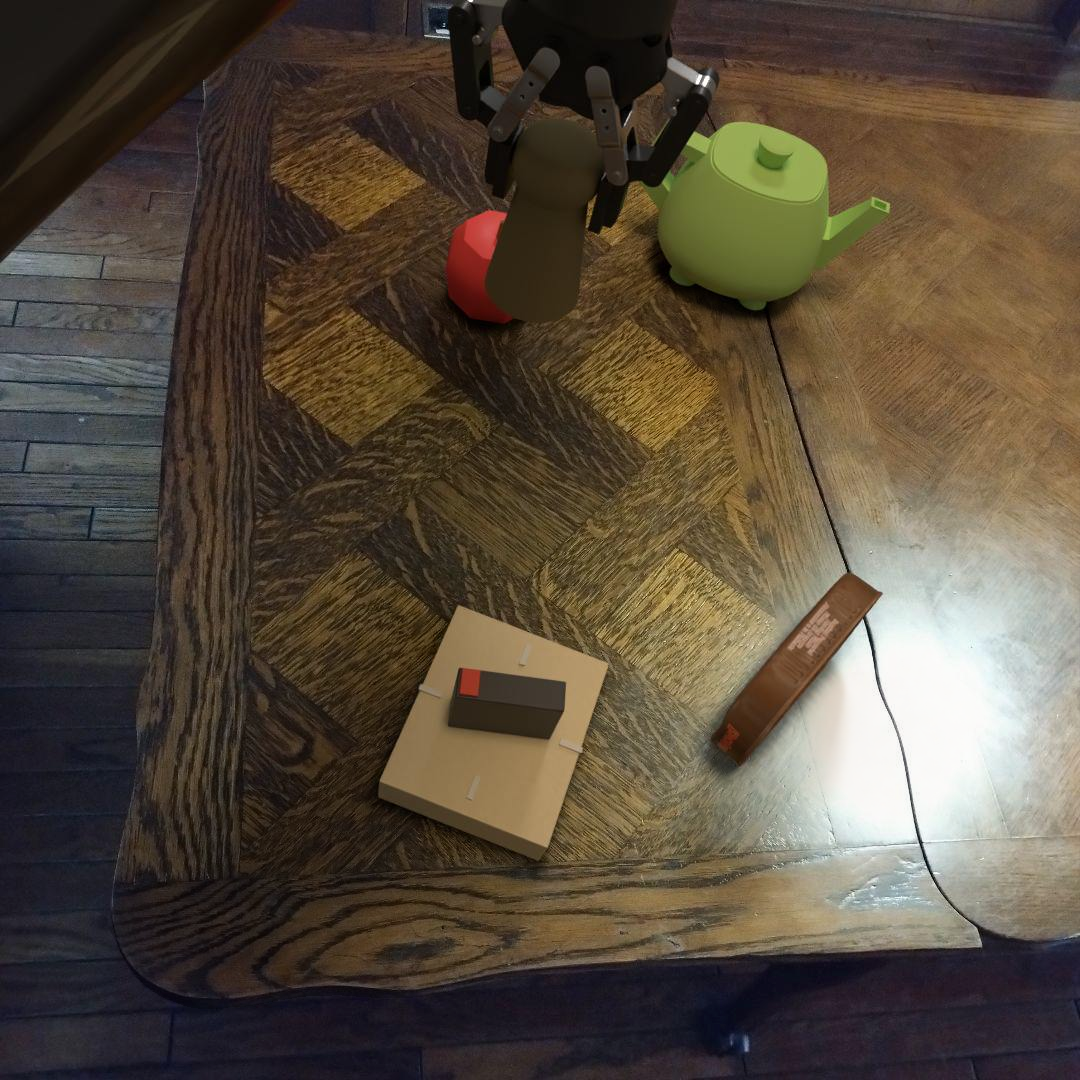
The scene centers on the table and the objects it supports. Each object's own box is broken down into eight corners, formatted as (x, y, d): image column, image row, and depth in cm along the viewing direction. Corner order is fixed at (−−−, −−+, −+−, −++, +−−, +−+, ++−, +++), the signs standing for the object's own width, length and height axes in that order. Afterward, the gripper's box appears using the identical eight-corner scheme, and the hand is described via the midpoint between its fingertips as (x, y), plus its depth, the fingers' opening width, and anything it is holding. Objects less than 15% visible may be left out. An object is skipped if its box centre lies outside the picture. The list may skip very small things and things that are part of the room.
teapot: (845, 254, 89) (913, 135, 79) (824, 356, 82) (896, 240, 71) (637, 180, 90) (676, 52, 79) (598, 275, 82) (636, 148, 72)
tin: (724, 786, 61) (775, 739, 54) (686, 751, 62) (730, 700, 55) (850, 636, 68) (909, 577, 61) (814, 606, 69) (867, 545, 62)
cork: (464, 287, 61) (487, 134, 52) (520, 239, 64) (551, 86, 55) (544, 338, 60) (581, 191, 51) (597, 286, 63) (641, 139, 54)
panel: (540, 862, 57) (550, 848, 54) (375, 796, 57) (377, 779, 54) (600, 683, 63) (611, 662, 60) (452, 625, 63) (457, 602, 61)
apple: (455, 344, 76) (466, 266, 69) (427, 270, 79) (435, 189, 73) (551, 330, 78) (571, 254, 72) (520, 259, 82) (536, 180, 75)
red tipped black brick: (552, 710, 58) (567, 679, 54) (549, 740, 57) (565, 709, 53) (451, 697, 58) (459, 664, 54) (447, 726, 57) (455, 695, 53)
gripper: (792, -91, 44) (682, 211, 58) (493, -198, 45) (457, 127, 59) (758, -11, 40) (649, 292, 54) (430, -129, 41) (408, 202, 55)
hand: (549, 205), depth 57 cm, fingers closed on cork, 5 cm apart
